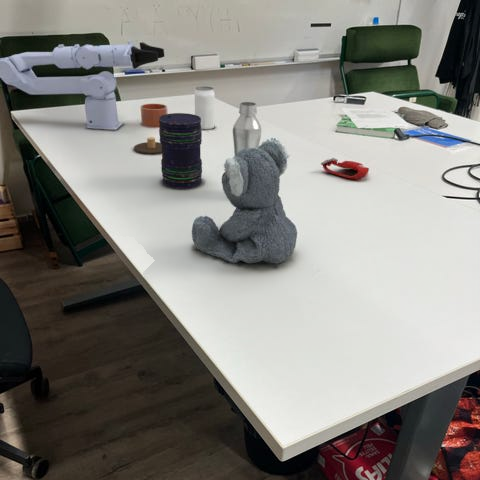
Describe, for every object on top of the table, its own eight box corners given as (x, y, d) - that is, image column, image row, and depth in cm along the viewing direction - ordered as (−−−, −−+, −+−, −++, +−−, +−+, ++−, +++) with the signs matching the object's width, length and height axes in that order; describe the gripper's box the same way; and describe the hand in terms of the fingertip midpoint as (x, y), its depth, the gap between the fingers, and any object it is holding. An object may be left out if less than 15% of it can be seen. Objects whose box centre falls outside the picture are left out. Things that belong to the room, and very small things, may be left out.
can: (213, 130, 157) (214, 90, 150) (194, 129, 157) (193, 89, 150) (215, 125, 162) (215, 86, 155) (196, 124, 162) (195, 85, 155)
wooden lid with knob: (129, 153, 135) (128, 142, 133) (139, 143, 143) (138, 132, 141) (164, 155, 134) (164, 144, 132) (172, 145, 142) (172, 134, 140)
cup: (138, 126, 157) (137, 108, 154) (145, 120, 164) (144, 102, 161) (164, 128, 157) (163, 110, 154) (170, 121, 164) (169, 104, 160)
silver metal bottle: (261, 191, 115) (267, 102, 103) (253, 201, 110) (258, 109, 98) (236, 187, 117) (239, 99, 105) (226, 197, 111) (228, 105, 99)
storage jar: (209, 180, 120) (209, 117, 111) (188, 192, 113) (186, 126, 104) (176, 172, 124) (174, 110, 115) (154, 183, 116) (149, 119, 108)
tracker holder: (357, 162, 132) (379, 165, 123) (353, 179, 133) (374, 182, 124) (319, 155, 127) (339, 157, 118) (315, 172, 128) (335, 175, 120)
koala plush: (243, 220, 101) (247, 124, 90) (315, 248, 92) (330, 145, 81) (185, 249, 90) (181, 143, 79) (260, 283, 81) (268, 169, 70)
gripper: (105, 43, 135) (152, 42, 133) (121, 37, 147) (164, 36, 145) (110, 71, 139) (155, 70, 138) (125, 63, 151) (167, 62, 149)
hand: (160, 54), depth 142 cm, fingers open, 7 cm apart
